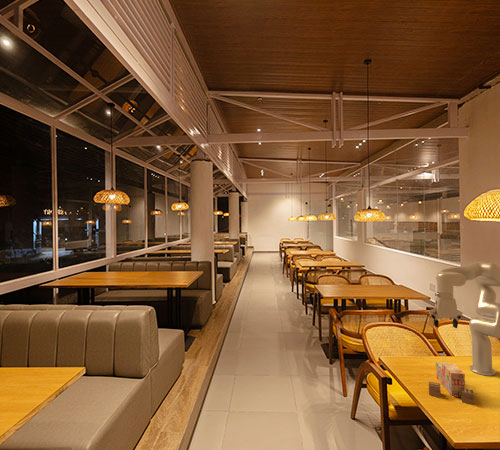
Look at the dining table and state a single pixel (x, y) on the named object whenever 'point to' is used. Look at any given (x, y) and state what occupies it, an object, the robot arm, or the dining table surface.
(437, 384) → the walnut cube one
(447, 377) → the stack of blocks
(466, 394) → the walnut cube two
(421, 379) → the dining table surface
